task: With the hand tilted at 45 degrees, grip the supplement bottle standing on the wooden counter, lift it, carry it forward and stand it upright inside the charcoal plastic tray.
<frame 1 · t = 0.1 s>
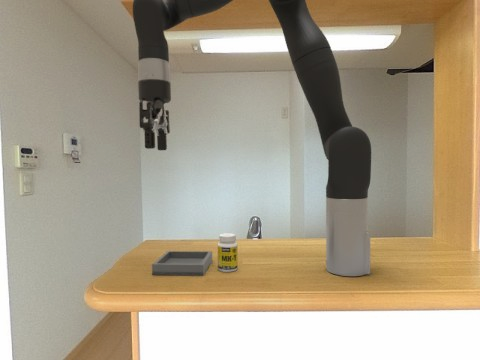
hand: (156, 149, 81), 29 cm above the kitchen counter, tool pointing down, fingers open, 8 cm apart
supplement bottle: (227, 270, 81), on the kitchen counter
tray: (184, 267, 83), on the kitchen counter
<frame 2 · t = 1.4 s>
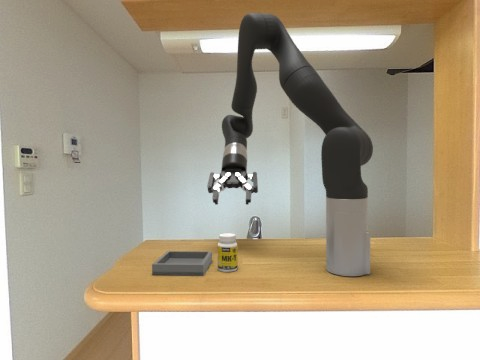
hand: (231, 202, 92), 15 cm above the kitchen counter, tool tilted 45°, fingers open, 8 cm apart
nothing on the kitchen counter moved.
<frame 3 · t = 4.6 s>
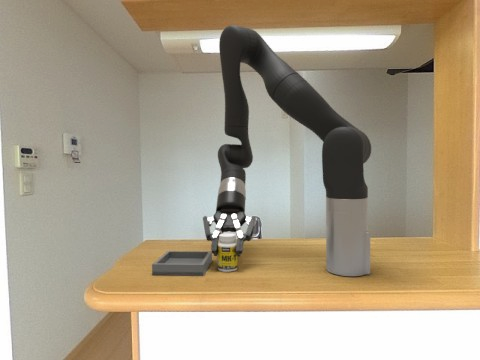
hand: (226, 254, 79), 4 cm above the kitchen counter, tool tilted 45°, fingers closed on supplement bottle, 4 cm apart
supplement bottle: (227, 269, 81), on the kitchen counter, touching gripper
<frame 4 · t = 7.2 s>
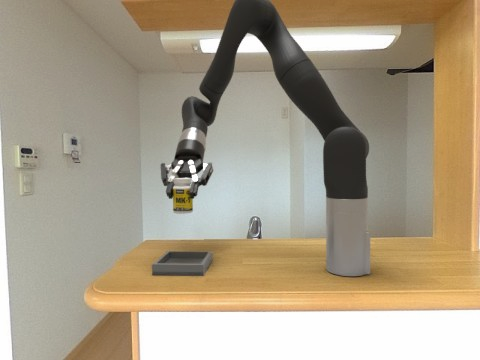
hand: (180, 196, 81), 18 cm above the kitchen counter, tool tilted 45°, fingers closed on supplement bottle, 4 cm apart
supplement bottle: (183, 213, 83), point 13 cm above the kitchen counter, touching gripper
when the fingers open (6 cm above the kitchen counter, at t = 9.7 s): supplement bottle stays where it is, resting on tray.
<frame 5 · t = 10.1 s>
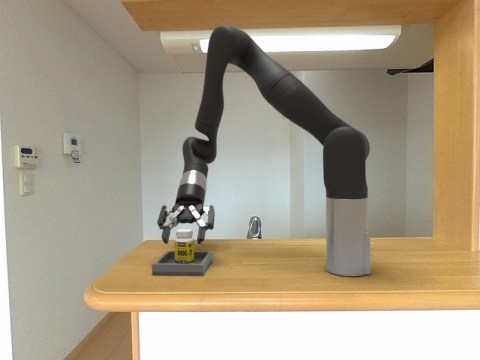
hand: (182, 242, 82), 7 cm above the kitchen counter, tool tilted 45°, fingers open, 8 cm apart
supplement bottle: (184, 264, 83), point 1 cm above the kitchen counter, touching tray
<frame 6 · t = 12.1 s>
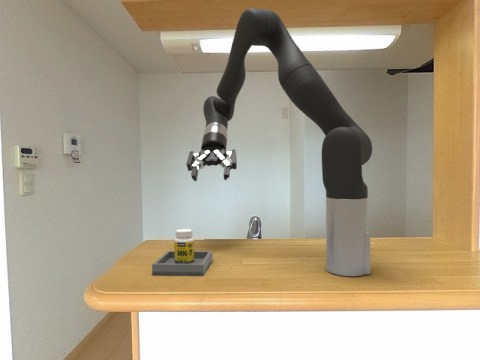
hand: (209, 178, 93), 21 cm above the kitchen counter, tool tilted 45°, fingers open, 8 cm apart
nothing on the kitchen counter moved.
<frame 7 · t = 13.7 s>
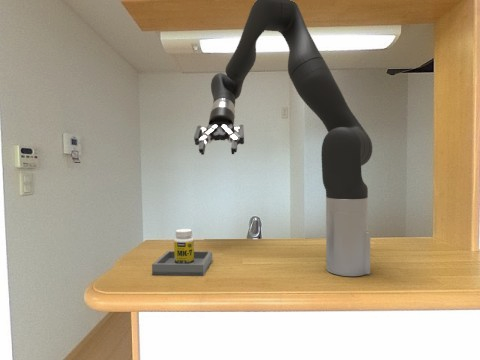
hand: (217, 152, 93), 29 cm above the kitchen counter, tool tilted 45°, fingers open, 8 cm apart
nothing on the kitchen counter moved.
at the end: supplement bottle inside the target area on the tray (0.2 cm from its centre), point 0.6 cm above the tray's base; supplement bottle tilted 0°; the gripper is holding nothing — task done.
